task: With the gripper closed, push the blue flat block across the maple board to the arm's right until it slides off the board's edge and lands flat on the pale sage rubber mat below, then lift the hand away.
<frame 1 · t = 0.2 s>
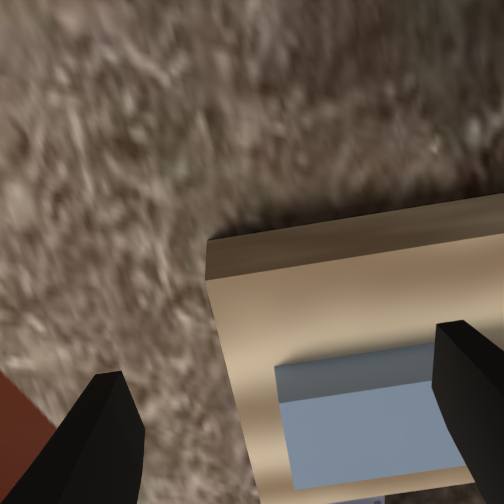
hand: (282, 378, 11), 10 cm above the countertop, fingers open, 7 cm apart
board: (361, 352, 24), on the countertop
blue flat block: (378, 398, 22), point 3 cm above the countertop, touching board
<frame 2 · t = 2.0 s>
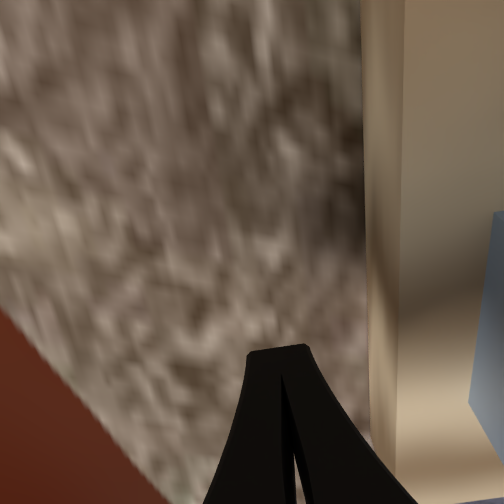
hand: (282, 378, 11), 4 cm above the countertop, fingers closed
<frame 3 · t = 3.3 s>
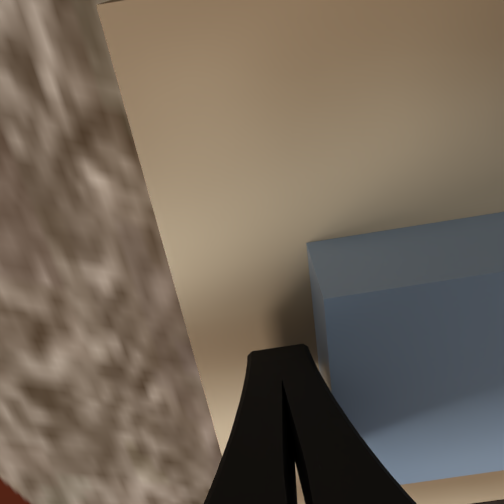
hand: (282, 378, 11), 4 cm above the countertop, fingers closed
board: (414, 260, 14), on the countertop
blue flat block: (499, 318, 12), point 3 cm above the countertop, touching gripper
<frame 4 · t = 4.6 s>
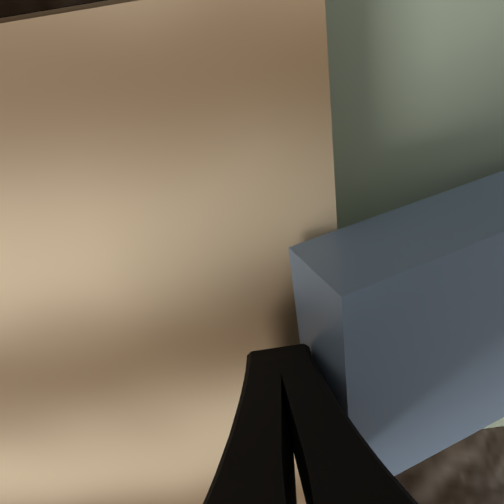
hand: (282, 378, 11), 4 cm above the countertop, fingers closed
board: (110, 306, 14), on the countertop
blue flat block: (451, 289, 12), point 2 cm above the countertop, tilted 20°
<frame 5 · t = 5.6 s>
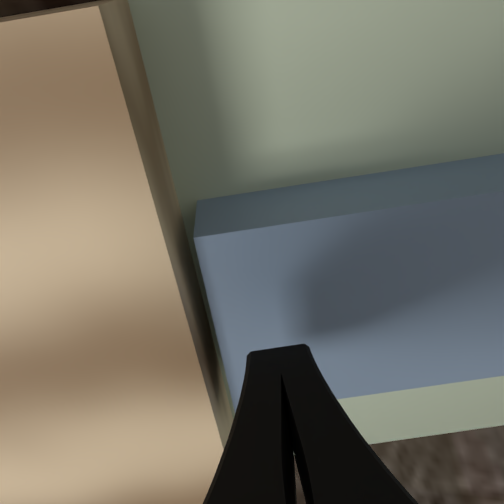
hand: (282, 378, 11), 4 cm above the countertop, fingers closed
mat: (400, 261, 14), on the countertop
blue flat block: (368, 269, 14), resting on mat
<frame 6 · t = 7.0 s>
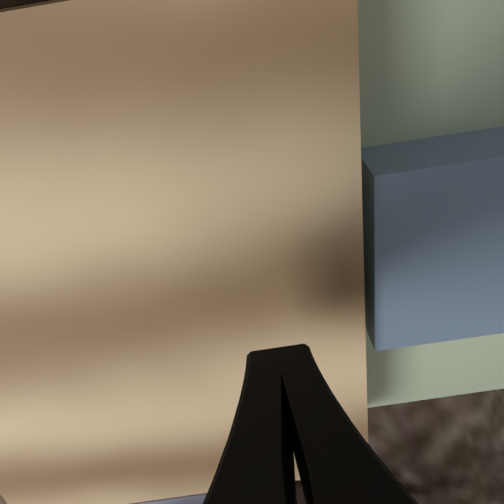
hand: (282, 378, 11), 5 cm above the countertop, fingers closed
board: (145, 270, 16), on the countertop
blue flat block: (499, 217, 15), resting on mat
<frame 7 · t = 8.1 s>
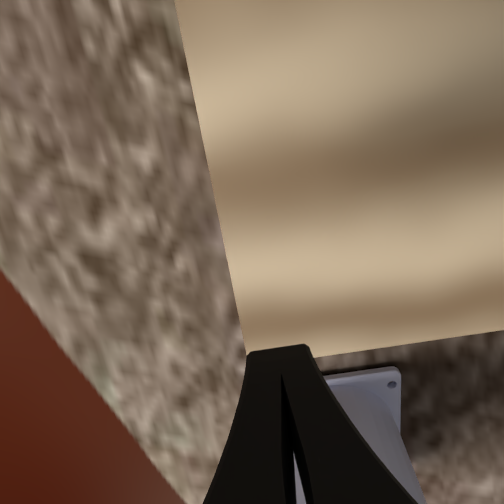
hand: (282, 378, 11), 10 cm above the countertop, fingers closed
board: (375, 145, 19), on the countertop
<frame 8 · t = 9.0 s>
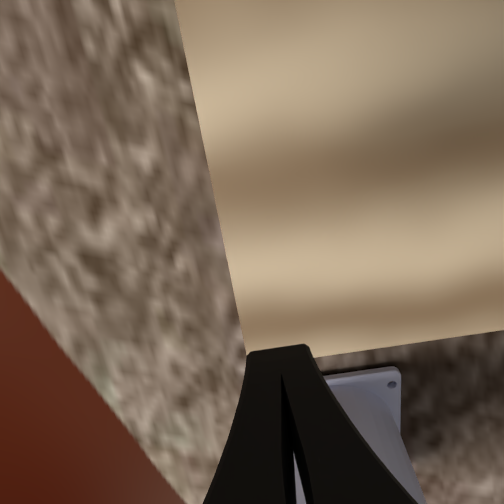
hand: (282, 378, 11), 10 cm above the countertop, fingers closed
board: (375, 145, 19), on the countertop
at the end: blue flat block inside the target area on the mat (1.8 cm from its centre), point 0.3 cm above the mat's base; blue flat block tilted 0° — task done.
